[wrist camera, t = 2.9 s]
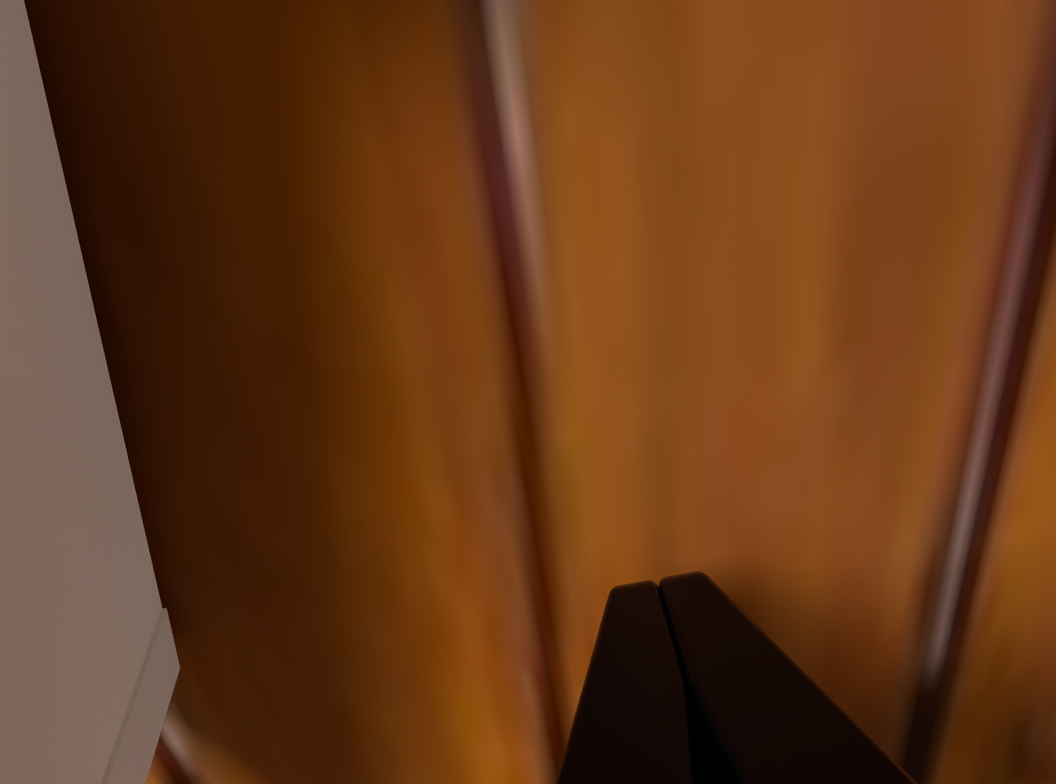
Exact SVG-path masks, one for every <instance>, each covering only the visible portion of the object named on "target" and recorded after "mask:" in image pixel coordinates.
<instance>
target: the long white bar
mask: <svg viewBox="0 0 1056 784" xmlns="http://www.w3.org/2000/svg"><path fill="white" fill-rule="evenodd" d="M179 670H180V666H179V661H178V657H177V652H176V648H175V643H174V639H173V634H172V630H171V625H170V621H169V616H168V612H167V608H162V605H161V601H160V596H159V592H158V587H157V583H156V579H155V574H154V570H153V565H152V561H151V557H150V552H149V548H148V543H147V539H146V535H145V530H144V526H143V521H142V517H141V513H140V508H139V504H138V500H137V495H136V491H135V486H134V482H133V478H132V473H131V469H130V464H129V460H128V456H127V451H126V447H125V442H124V438H123V434H122V429H121V425H120V420H119V416H118V412H117V407H116V403H115V398H114V394H113V390H112V385H111V381H110V376H109V372H108V368H107V363H106V359H105V354H104V350H103V346H102V341H101V337H100V332H99V328H98V324H97V319H96V315H95V311H94V306H93V302H92V297H91V293H90V289H89V284H88V280H87V275H86V271H85V267H84V262H83V258H82V253H81V249H80V245H79V240H78V236H77V231H76V227H75V223H74V218H73V214H72V209H71V205H70V201H69V196H68V192H67V187H66V183H65V179H64V174H63V170H62V165H61V161H60V157H59V152H58V148H57V143H56V139H55V135H54V130H53V126H52V121H51V117H50V113H49V108H48V104H47V100H46V95H45V91H44V86H43V82H42V78H41V73H40V69H39V64H38V60H37V56H36V51H35V47H34V42H33V38H32V34H31V29H30V25H29V20H28V16H27V12H26V7H25V3H24V0H0V784H145V783H146V779H147V776H148V773H149V769H150V766H151V763H152V759H153V756H154V753H155V749H156V746H157V743H158V740H159V736H160V733H161V730H162V726H163V723H164V720H165V716H166V713H167V710H168V706H169V703H170V700H171V697H172V693H173V690H174V687H175V683H176V680H177V677H178V673H179Z"/></svg>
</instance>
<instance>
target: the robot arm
mask: <svg viewBox="0 0 1056 784" xmlns="http://www.w3.org/2000/svg"><path fill="white" fill-rule="evenodd" d="M556 784H917V783H916V782H915V781H914V780H913V779H912V778H911V777H910V776H909V775H908V774H907V773H906V772H905V771H904V770H903V769H902V768H901V767H900V766H899V765H897V764H896V763H895V762H894V761H893V760H892V759H891V758H890V757H889V756H888V755H887V754H886V753H885V752H884V751H883V750H882V749H881V748H880V747H879V746H878V745H877V744H876V743H875V742H874V741H873V740H872V739H871V738H870V737H869V736H868V735H867V734H866V733H865V732H864V731H863V730H862V729H861V728H860V727H859V726H858V725H857V724H856V723H855V722H854V721H853V720H852V719H851V718H850V717H849V716H848V715H847V714H846V713H845V712H844V711H843V710H842V709H841V708H840V707H839V706H838V705H837V704H836V703H835V702H834V701H833V700H832V699H831V698H830V697H829V696H828V695H827V694H826V693H825V692H824V691H823V690H822V689H821V688H820V687H819V686H818V685H817V684H816V683H815V682H814V681H813V680H812V679H811V678H810V677H809V676H808V675H807V674H806V673H805V672H804V671H803V670H802V669H801V668H800V667H799V666H798V665H797V664H796V663H795V662H794V661H793V660H792V659H791V658H790V657H789V656H788V655H787V654H786V653H785V652H784V651H783V650H782V649H781V648H780V647H779V646H778V645H777V644H776V643H775V642H774V641H773V640H772V639H771V638H770V637H769V636H768V635H767V634H766V633H765V632H764V631H763V630H762V629H761V628H760V627H759V626H758V625H757V624H756V623H755V622H754V621H753V620H752V619H751V618H750V617H749V616H748V615H747V614H746V613H745V612H744V611H743V610H742V609H740V608H739V607H738V606H737V605H736V604H735V603H734V602H733V601H732V600H731V599H730V598H729V597H728V596H727V595H726V594H725V593H724V592H723V591H722V590H721V589H720V588H719V587H718V586H717V585H716V584H715V583H714V582H713V581H712V580H711V579H710V578H709V577H708V576H707V575H706V574H704V573H702V572H692V573H686V574H680V575H675V576H669V577H665V578H662V579H661V580H660V582H659V585H658V586H657V584H656V583H655V582H654V581H651V580H647V581H642V582H636V583H631V584H625V585H620V586H616V587H614V588H613V589H612V590H611V592H610V594H609V596H608V600H607V603H606V607H605V610H604V614H603V617H602V621H601V624H600V628H599V632H598V635H597V639H596V642H595V646H594V649H593V653H592V656H591V660H590V664H589V667H588V671H587V674H586V678H585V681H584V685H583V688H582V692H581V696H580V699H579V703H578V706H577V710H576V713H575V717H574V720H573V724H572V727H571V731H570V735H569V738H568V742H567V745H566V749H565V752H564V756H563V759H562V763H561V767H560V770H559V774H558V777H557V781H556Z"/></svg>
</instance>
